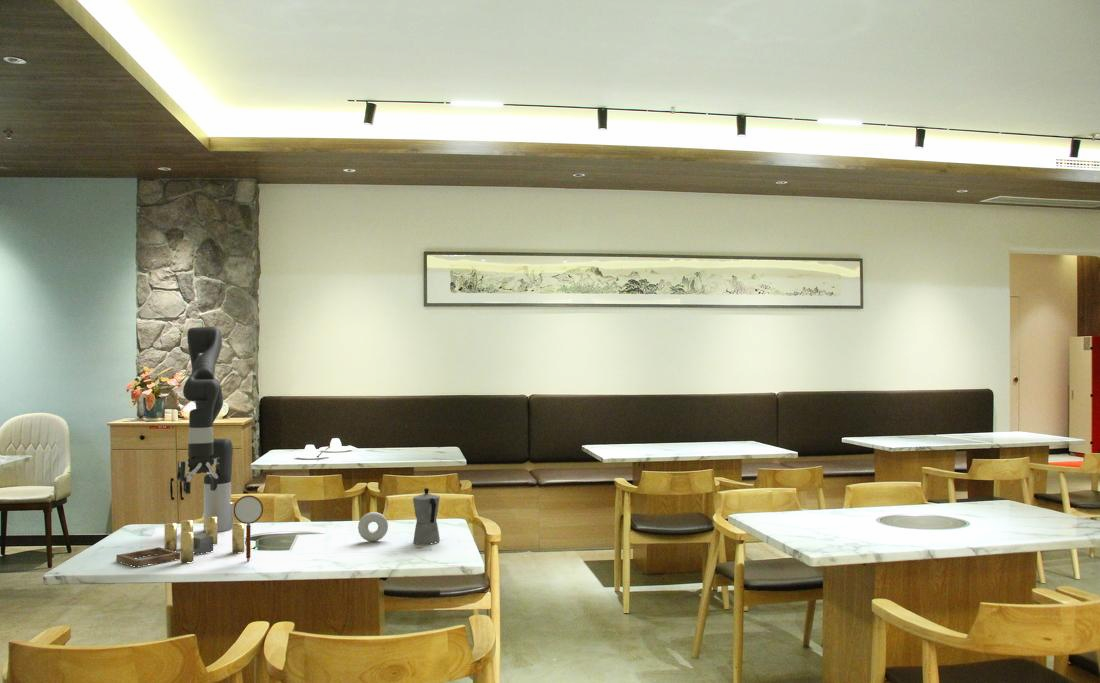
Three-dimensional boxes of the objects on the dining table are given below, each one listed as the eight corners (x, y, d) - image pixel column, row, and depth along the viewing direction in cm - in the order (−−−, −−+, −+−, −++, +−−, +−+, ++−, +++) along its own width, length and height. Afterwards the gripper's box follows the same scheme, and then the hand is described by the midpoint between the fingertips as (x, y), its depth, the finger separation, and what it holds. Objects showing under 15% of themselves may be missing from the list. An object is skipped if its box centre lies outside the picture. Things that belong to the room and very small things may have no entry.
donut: (357, 543, 273) (357, 513, 273) (357, 541, 276) (357, 511, 277) (388, 541, 275) (388, 512, 276) (388, 539, 279) (387, 510, 279)
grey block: (205, 550, 265) (205, 534, 265) (213, 552, 262) (213, 536, 262) (192, 552, 261) (192, 537, 262) (199, 554, 259) (199, 538, 259)
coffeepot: (407, 539, 279) (407, 486, 279) (434, 536, 283) (433, 484, 283) (420, 548, 265) (420, 492, 265) (448, 545, 269) (448, 490, 269)
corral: (159, 553, 260) (159, 547, 260) (179, 559, 252) (180, 552, 252) (116, 561, 250) (116, 554, 250) (136, 567, 242) (136, 561, 242)
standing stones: (212, 542, 277) (212, 515, 277) (249, 551, 263) (249, 523, 263) (148, 554, 260) (148, 525, 260) (184, 564, 246) (184, 534, 246)
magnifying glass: (263, 559, 251) (263, 494, 251) (262, 561, 249) (262, 495, 250) (234, 561, 249) (234, 495, 250) (232, 562, 248) (233, 496, 248)
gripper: (215, 439, 270) (215, 488, 270) (173, 442, 259) (172, 493, 259) (227, 440, 266) (227, 490, 265) (185, 443, 255) (184, 495, 254)
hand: (200, 492), depth 262 cm, fingers open, 8 cm apart
